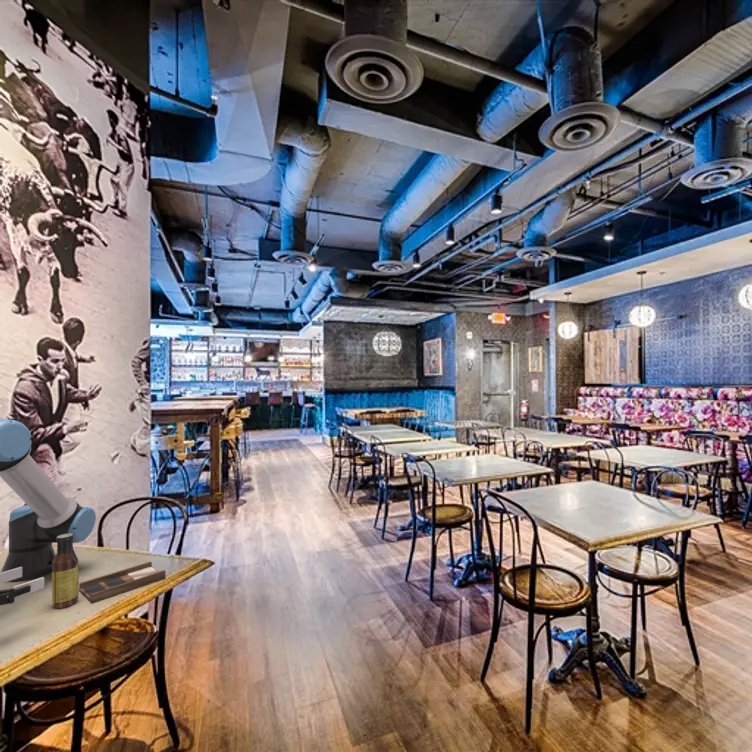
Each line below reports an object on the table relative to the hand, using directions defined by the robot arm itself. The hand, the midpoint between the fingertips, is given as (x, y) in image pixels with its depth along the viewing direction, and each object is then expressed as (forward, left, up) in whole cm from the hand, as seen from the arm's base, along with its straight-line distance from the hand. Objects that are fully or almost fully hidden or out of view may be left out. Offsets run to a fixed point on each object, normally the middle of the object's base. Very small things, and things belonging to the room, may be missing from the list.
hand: (32, 576), depth 115 cm
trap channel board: (-2, +23, -11) cm, 26 cm away
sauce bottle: (-2, +8, -11) cm, 14 cm away
